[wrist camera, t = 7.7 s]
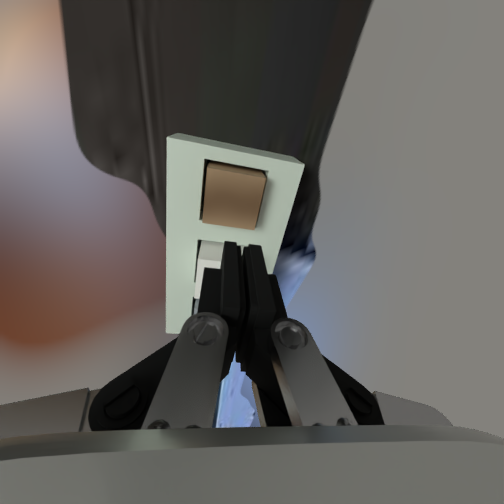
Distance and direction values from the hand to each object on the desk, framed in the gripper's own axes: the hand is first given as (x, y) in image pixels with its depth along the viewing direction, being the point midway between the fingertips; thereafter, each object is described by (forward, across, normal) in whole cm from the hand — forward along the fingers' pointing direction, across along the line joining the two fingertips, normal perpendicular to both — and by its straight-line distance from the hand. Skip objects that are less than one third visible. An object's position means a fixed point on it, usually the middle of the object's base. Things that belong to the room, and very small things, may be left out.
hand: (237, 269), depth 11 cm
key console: (+17, 0, +9) cm, 19 cm away
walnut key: (+15, 0, +1) cm, 15 cm away
